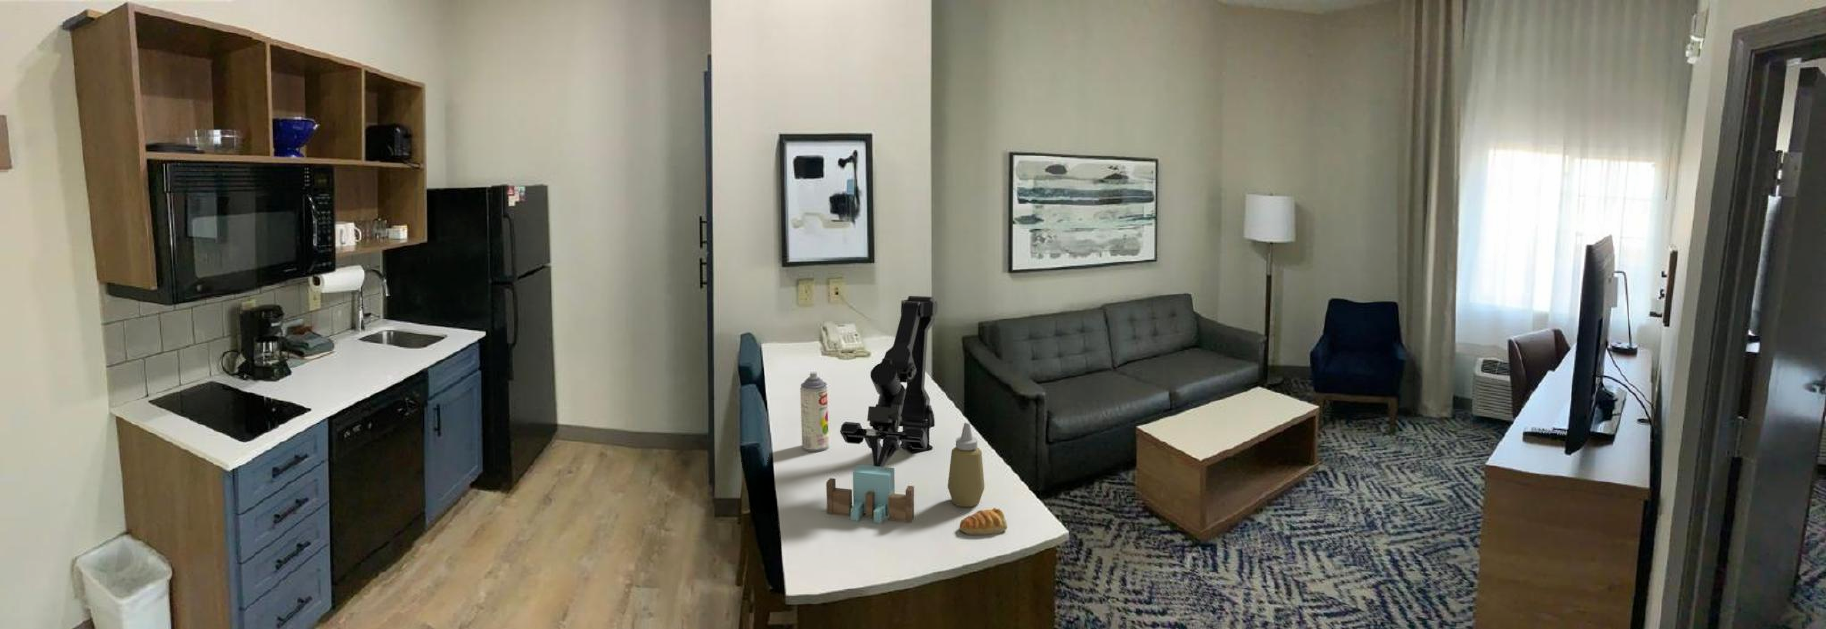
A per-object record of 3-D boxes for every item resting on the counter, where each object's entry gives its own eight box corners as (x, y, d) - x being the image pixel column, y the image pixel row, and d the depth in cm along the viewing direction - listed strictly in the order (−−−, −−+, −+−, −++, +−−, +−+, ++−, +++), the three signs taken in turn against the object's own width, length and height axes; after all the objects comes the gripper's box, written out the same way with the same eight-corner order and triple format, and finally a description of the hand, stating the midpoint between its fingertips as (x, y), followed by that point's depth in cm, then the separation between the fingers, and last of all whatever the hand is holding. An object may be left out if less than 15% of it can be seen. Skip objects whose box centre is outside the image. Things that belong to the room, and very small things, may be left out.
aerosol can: (824, 452, 208) (822, 376, 204) (798, 451, 210) (796, 375, 206) (831, 443, 215) (829, 369, 211) (806, 441, 216) (804, 368, 212)
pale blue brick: (859, 503, 178) (858, 464, 177) (894, 507, 177) (894, 467, 175) (847, 519, 171) (846, 478, 169) (884, 523, 169) (884, 482, 167)
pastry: (968, 540, 162) (968, 522, 161) (953, 526, 168) (953, 509, 167) (1010, 532, 165) (1010, 514, 165) (994, 518, 172) (994, 501, 171)
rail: (830, 508, 176) (830, 477, 175) (914, 517, 172) (914, 486, 170) (827, 513, 174) (826, 482, 172) (911, 522, 169) (911, 490, 168)
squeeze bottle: (988, 497, 182) (989, 419, 178) (979, 512, 174) (980, 431, 171) (953, 492, 184) (954, 415, 181) (942, 506, 177) (943, 427, 173)
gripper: (841, 386, 180) (825, 452, 172) (924, 392, 176) (912, 459, 167) (853, 410, 189) (838, 473, 181) (932, 416, 185) (921, 481, 176)
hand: (876, 471), depth 176 cm, fingers closed, pressing on pale blue brick
